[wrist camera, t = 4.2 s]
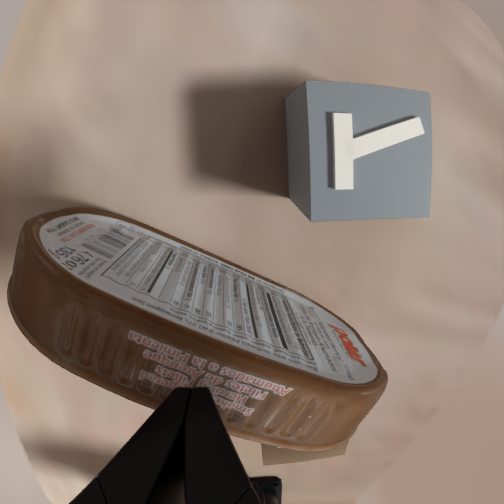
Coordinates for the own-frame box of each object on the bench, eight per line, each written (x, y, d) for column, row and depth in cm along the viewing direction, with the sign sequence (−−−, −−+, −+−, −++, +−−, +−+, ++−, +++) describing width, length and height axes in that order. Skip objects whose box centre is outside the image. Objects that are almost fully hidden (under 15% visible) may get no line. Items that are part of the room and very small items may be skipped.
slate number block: (379, 195, 14) (431, 218, 10) (288, 197, 14) (312, 223, 10) (378, 102, 13) (432, 92, 9) (284, 99, 13) (307, 79, 8)
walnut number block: (327, 401, 19) (345, 456, 14) (258, 409, 19) (263, 468, 14) (333, 347, 17) (358, 404, 13) (254, 356, 17) (260, 418, 13)
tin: (68, 239, 14) (-39, 320, 6) (85, 182, 14) (-39, 227, 6) (326, 349, 17) (374, 470, 9) (356, 304, 16) (431, 416, 8)
